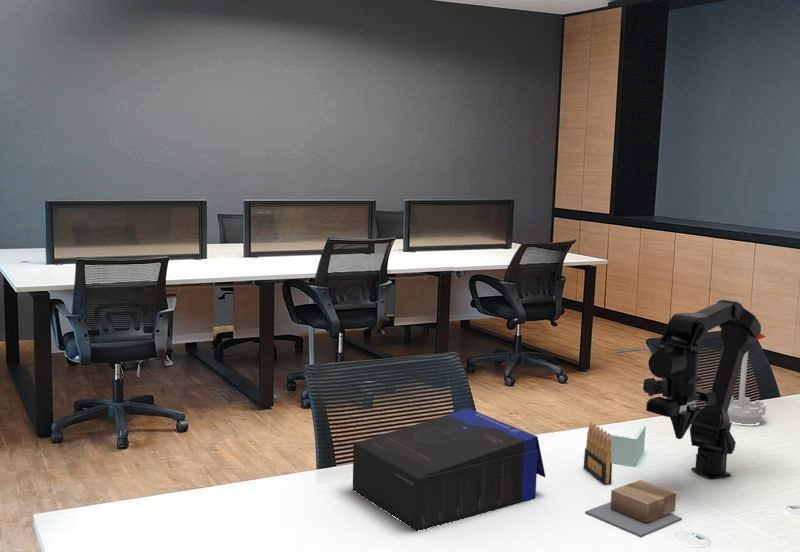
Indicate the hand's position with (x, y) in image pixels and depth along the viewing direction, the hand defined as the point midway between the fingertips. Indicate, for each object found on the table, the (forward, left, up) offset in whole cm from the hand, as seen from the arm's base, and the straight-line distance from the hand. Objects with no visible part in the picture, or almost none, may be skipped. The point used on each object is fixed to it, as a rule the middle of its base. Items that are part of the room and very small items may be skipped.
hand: (679, 438), depth 193 cm
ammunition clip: (+12, -13, -12) cm, 21 cm away
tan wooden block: (+11, +7, -9) cm, 16 cm away
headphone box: (+49, -16, -12) cm, 53 cm away
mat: (+19, +9, -12) cm, 24 cm away
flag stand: (-54, -35, -12) cm, 66 cm away
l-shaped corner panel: (-1, -23, -13) cm, 27 cm away
